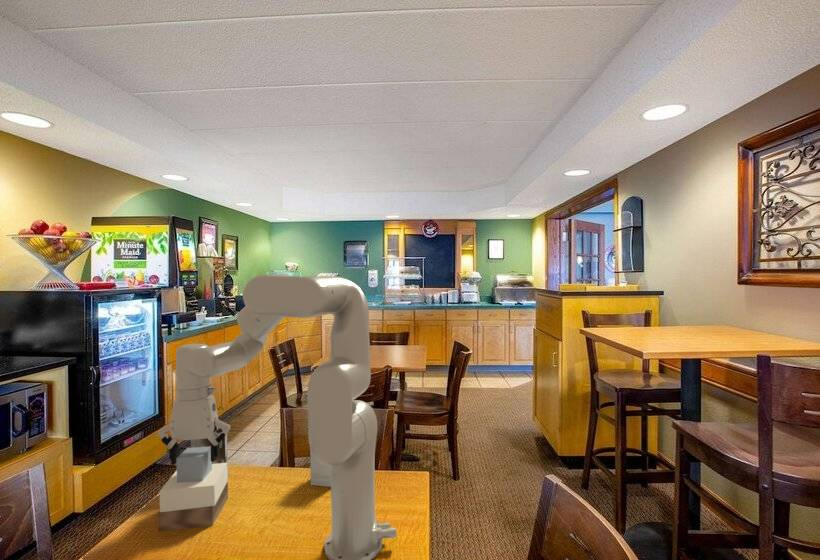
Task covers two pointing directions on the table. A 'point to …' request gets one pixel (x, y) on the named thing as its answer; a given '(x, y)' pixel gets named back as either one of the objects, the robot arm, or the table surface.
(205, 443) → the coffee box
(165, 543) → the table surface
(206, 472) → the stack block
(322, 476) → the supplement box
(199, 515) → the tower base block
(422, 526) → the table surface
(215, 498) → the tower top block
